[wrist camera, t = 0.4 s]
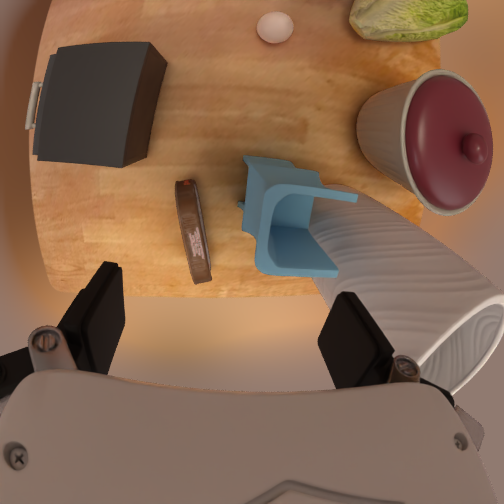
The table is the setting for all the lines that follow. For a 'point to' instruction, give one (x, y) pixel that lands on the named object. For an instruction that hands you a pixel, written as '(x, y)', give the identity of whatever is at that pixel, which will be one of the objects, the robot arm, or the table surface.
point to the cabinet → (101, 103)
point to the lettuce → (407, 19)
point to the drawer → (33, 104)
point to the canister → (430, 139)
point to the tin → (193, 230)
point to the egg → (275, 27)
